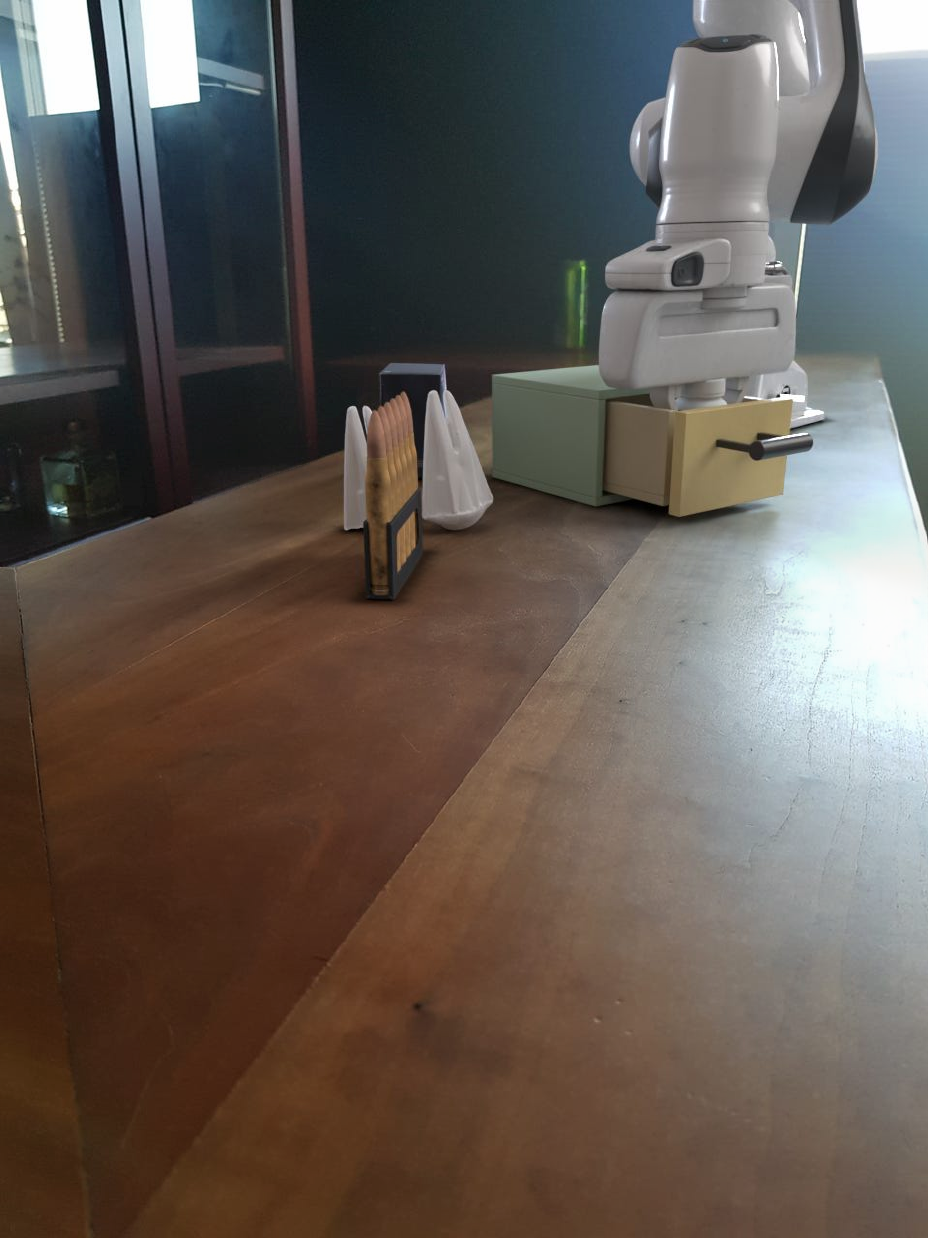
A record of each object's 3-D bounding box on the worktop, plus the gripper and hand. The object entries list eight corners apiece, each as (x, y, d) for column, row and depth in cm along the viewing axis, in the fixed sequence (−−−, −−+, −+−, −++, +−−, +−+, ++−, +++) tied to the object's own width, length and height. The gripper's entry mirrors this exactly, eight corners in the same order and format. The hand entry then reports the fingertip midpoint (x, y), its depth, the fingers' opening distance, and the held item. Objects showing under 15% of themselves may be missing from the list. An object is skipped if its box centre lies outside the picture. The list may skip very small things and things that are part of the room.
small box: (445, 479, 95) (443, 371, 91) (380, 480, 95) (375, 372, 91) (449, 458, 105) (447, 361, 101) (390, 459, 105) (386, 362, 101)
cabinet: (706, 485, 91) (714, 377, 87) (595, 506, 84) (599, 390, 80) (597, 460, 103) (600, 364, 99) (492, 477, 96) (491, 374, 92)
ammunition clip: (399, 552, 71) (393, 389, 67) (423, 552, 71) (418, 389, 67) (365, 599, 61) (356, 412, 57) (393, 600, 61) (385, 412, 57)
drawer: (832, 505, 79) (844, 404, 76) (726, 530, 72) (736, 420, 69) (663, 468, 94) (668, 382, 91) (563, 485, 88) (565, 394, 85)
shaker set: (494, 522, 79) (494, 386, 75) (487, 535, 75) (486, 393, 71) (355, 518, 81) (348, 385, 77) (341, 531, 77) (333, 392, 73)
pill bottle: (723, 471, 84) (731, 374, 81) (721, 482, 80) (730, 381, 77) (668, 468, 86) (674, 373, 83) (664, 480, 81) (670, 380, 78)
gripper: (762, 260, 84) (748, 417, 89) (589, 265, 74) (583, 442, 79) (823, 260, 80) (804, 425, 85) (646, 265, 69) (637, 454, 74)
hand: (696, 434), depth 82 cm, fingers closed on pill bottle, 5 cm apart
